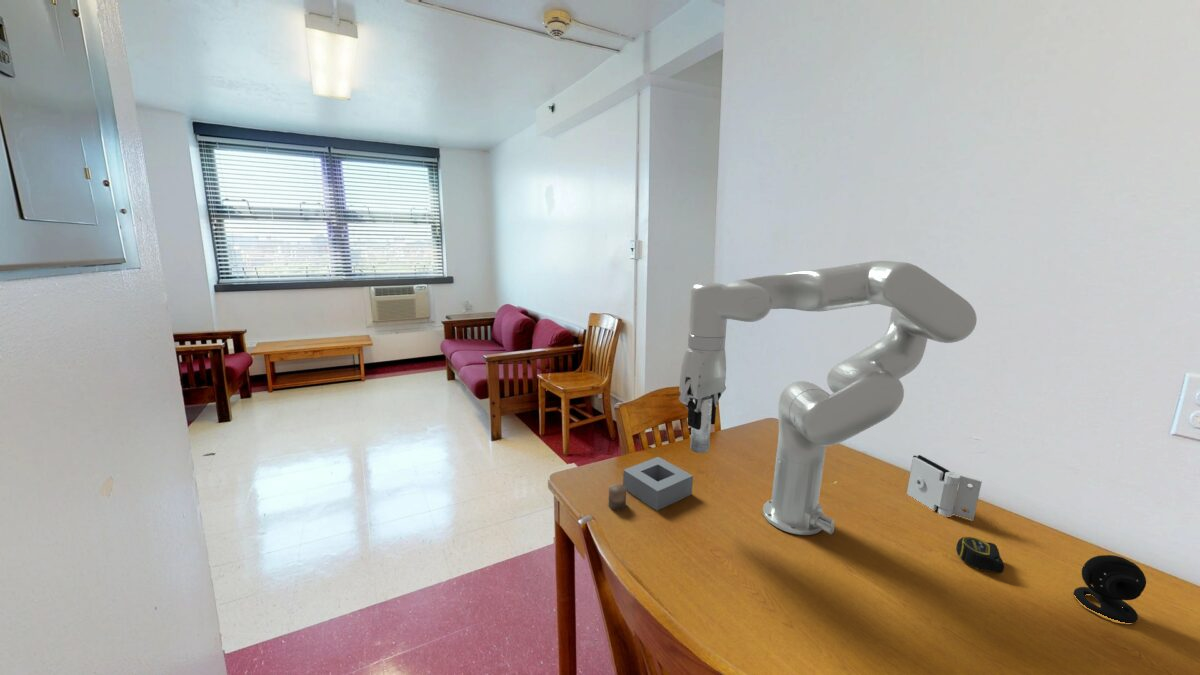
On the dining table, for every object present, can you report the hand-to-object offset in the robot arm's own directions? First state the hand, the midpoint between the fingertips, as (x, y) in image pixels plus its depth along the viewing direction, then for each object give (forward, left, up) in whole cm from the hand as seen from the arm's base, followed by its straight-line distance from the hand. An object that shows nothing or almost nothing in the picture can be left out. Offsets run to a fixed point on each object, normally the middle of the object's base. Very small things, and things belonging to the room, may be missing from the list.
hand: (701, 424), depth 98 cm
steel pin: (0, 0, -6) cm, 6 cm away
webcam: (-60, -37, -22) cm, 74 cm away
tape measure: (-44, -34, -22) cm, 60 cm away
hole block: (+12, 0, -22) cm, 25 cm away
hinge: (-32, -50, -22) cm, 63 cm away
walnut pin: (+13, +12, -22) cm, 28 cm away
